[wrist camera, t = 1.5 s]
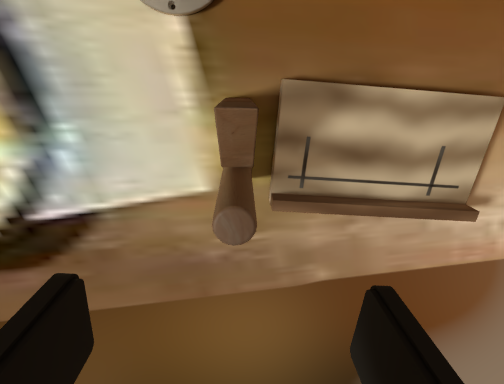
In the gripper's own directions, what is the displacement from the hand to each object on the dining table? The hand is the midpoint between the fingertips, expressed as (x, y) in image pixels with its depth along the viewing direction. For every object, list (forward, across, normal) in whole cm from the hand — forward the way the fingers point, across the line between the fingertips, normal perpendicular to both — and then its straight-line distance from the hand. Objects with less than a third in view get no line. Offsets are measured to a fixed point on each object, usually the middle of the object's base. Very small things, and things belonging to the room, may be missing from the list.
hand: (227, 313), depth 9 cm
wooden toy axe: (+30, 0, 0) cm, 30 cm away
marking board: (+30, -19, 0) cm, 36 cm away
